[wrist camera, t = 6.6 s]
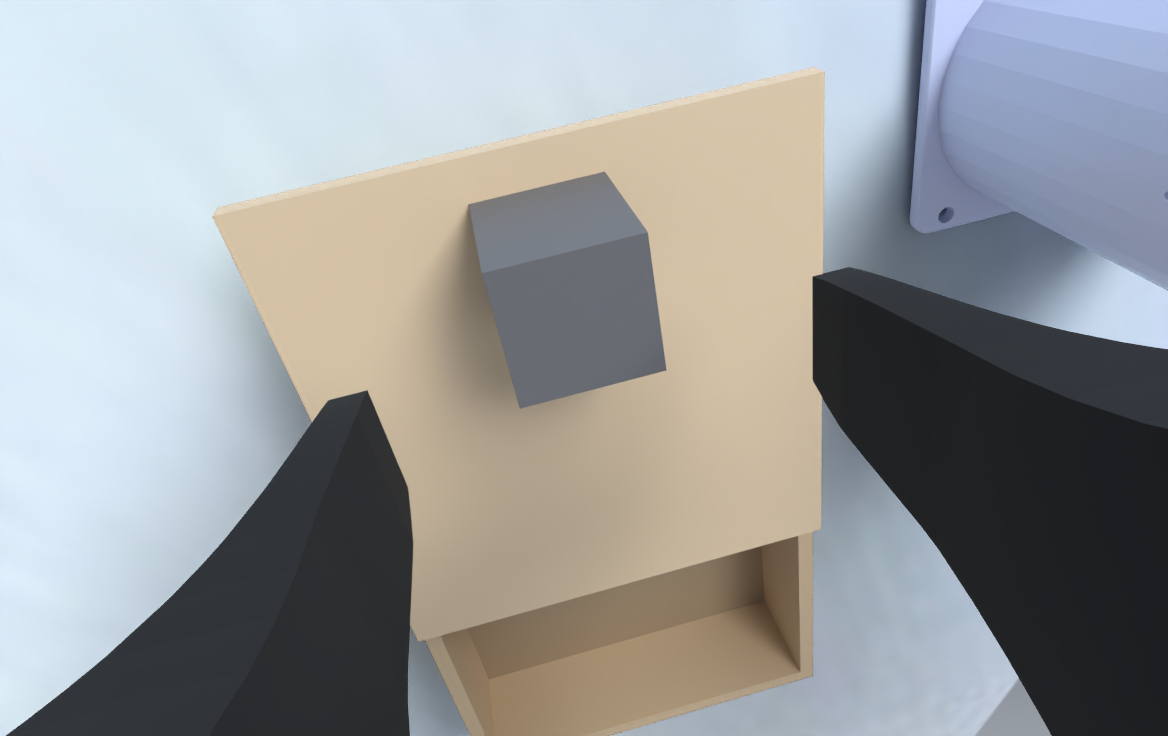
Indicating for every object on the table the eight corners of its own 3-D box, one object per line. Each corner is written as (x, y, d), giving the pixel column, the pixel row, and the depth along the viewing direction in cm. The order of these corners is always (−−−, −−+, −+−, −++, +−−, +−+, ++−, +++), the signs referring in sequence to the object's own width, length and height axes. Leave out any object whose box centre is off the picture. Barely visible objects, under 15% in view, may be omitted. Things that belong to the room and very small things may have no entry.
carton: (758, 322, 25) (812, 388, 21) (771, 596, 32) (812, 675, 29) (368, 422, 24) (362, 508, 20) (479, 679, 31) (487, 771, 28)
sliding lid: (813, 67, 16) (917, 111, 13) (814, 518, 24) (879, 618, 21) (217, 207, 15) (164, 293, 12) (417, 628, 23) (419, 750, 20)
